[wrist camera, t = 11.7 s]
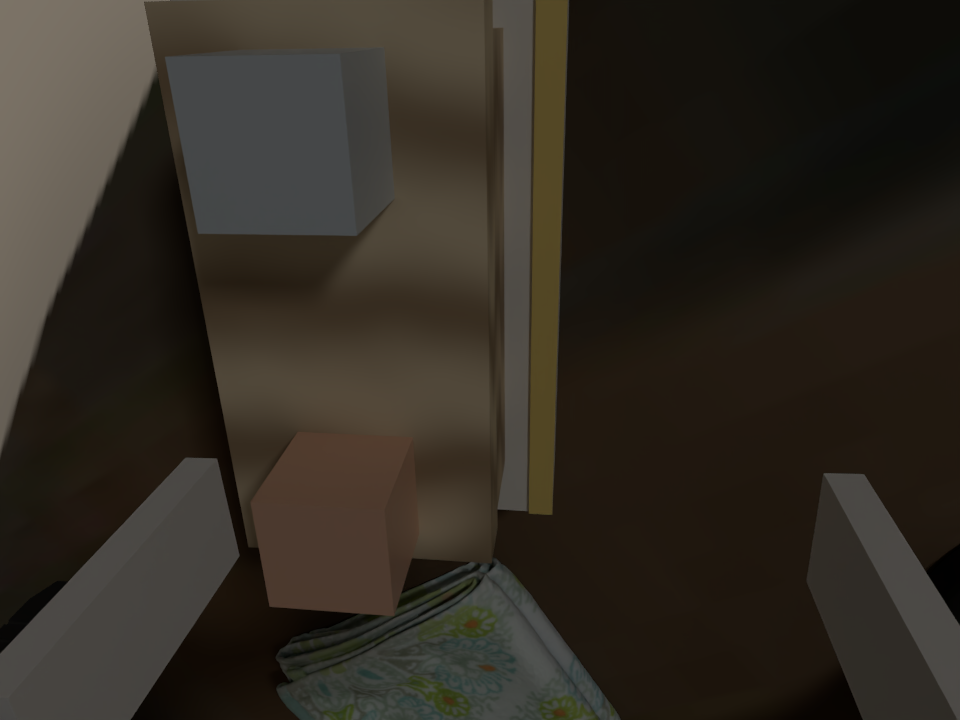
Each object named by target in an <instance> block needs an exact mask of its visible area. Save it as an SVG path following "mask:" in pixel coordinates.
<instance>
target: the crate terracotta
mask: <svg viewBox="0 0 960 720" xmlns="http://www.w3.org/2000/svg"><path fill="white" fill-rule="evenodd" d="M250 503H251V508H252V514H253V519H254V525H255V530H256V535H257V541H258V546H259V552H260V557H261V562H262V568H263V573H264V579H265V584H266V589H267V595H268V600H269V606H270V607H281V608H294V609H307V610H320V611H333V612H346V613H359V614H372V615H385V616H394V615H395V612H396V609H397V605H398V602H399V599H400V595H401V592H402V589H403V586H404V582H405V579H406V576H407V573H408V569H409V566H410V563H411V559H412V556H413V553H414V550H415V546H416V543H417V540H418V536H419V520H418V505H417V490H416V475H415V460H414V445H413V437H397V436H376V435H355V434H334V433H313V432H297V434H296V435H295V437H294V438H293V439H292V441H291V442H290V444H289V445H288V447H287V448H286V450H285V451H284V453H283V454H282V456H281V457H280V459H279V460H278V462H277V463H276V465H275V466H274V468H273V469H272V471H271V472H270V474H269V475H268V477H267V478H266V480H265V481H264V482H263V484H262V485H261V487H260V488H259V490H258V491H257V493H256V494H255V496H254V497H253V499H252V500H251V502H250Z"/></svg>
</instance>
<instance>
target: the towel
mask: <svg viewBox="0 0 960 720" xmlns="http://www.w3.org/2000/svg"><path fill="white" fill-rule="evenodd" d="M276 660H277V661H278V662H279V663H280V666H281V668H282V670H283V672H284V673H285V675H286V676H287V678H288V680H289V682H290V683H287V682H283V683H281V684H279V685H278V686H277V688H276V690H277V692H278V695H279V697H280V698H281V700H282V701H283V702H284V703H285V705H286V706H287V707H288V708H289V709H290V710H291V711H292V712H293V713H294V714H295V715H296V716H297V717H298V718H299V719H300V720H620V717H619V715H618V714H617V712H616V711H615V709H614V708H613V706H612V705H611V704H610V702H609V701H608V700H607V699H606V697H605V696H604V695H603V693H602V692H601V690H600V688H599V687H598V686H597V684H596V683H595V682H594V681H593V679H592V678H591V676H590V675H589V673H588V672H587V671H586V669H585V668H584V667H583V666H582V664H581V663H580V661H579V660H578V658H577V657H576V656H575V654H574V653H573V652H572V650H571V649H570V648H569V647H568V645H567V644H566V643H565V641H564V640H563V639H562V637H561V636H560V634H559V633H558V632H557V630H556V629H555V628H554V626H553V625H552V624H551V622H550V621H549V620H548V618H547V617H546V616H545V614H544V613H543V611H542V610H541V609H540V608H539V606H538V604H537V603H536V601H535V600H534V599H533V597H532V596H531V594H530V593H529V592H528V591H527V590H526V589H525V588H524V586H523V585H522V584H521V582H520V581H519V580H518V579H517V578H516V576H515V575H514V574H513V573H512V572H511V571H510V570H509V569H508V568H507V567H506V566H505V565H502V564H501V563H500V562H499V561H498V560H497V559H496V558H493V559H492V563H477V562H470V563H468V564H466V565H463V566H460V567H458V568H457V569H455V570H453V571H450V572H448V573H446V574H444V575H442V576H440V577H438V578H436V579H433V580H431V581H429V582H426V583H424V584H422V585H419V586H417V587H415V588H412V589H410V590H408V591H405V592H403V593H401V595H400V599H399V602H398V605H397V609H396V612H395V615H394V616H385V615H372V614H358V615H356V616H354V617H352V618H349V619H347V620H345V621H343V622H341V623H338V624H336V625H334V626H332V627H330V628H327V629H326V628H323V629H317V630H314V631H311V632H310V633H309V634H308V633H304V634H301V635H300V636H296V637H293V638H292V639H291V640H290V642H289V643H288V644H287V645H286V646H285V647H283V648H281V649H280V650H279V652H278V654H277V655H276Z"/></svg>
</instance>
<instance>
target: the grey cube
mask: <svg viewBox="0 0 960 720" xmlns="http://www.w3.org/2000/svg"><path fill="white" fill-rule="evenodd" d="M165 61H166V66H167V71H168V77H169V82H170V87H171V93H172V98H173V103H174V109H175V114H176V119H177V124H178V130H179V135H180V140H181V146H182V151H183V156H184V162H185V167H186V172H187V178H188V183H189V188H190V194H191V199H192V204H193V210H194V215H195V220H196V226H197V231H198V234H261V235H337V236H357V235H358V234H359V233H360V232H361V231H362V230H363V229H364V228H365V227H366V226H367V225H368V224H369V223H370V222H371V221H372V220H373V219H374V218H375V217H376V216H377V215H378V214H379V213H380V212H381V211H383V210H384V209H385V208H386V207H387V206H388V205H389V204H390V203H391V202H392V201H393V200H394V199H395V195H394V181H393V167H392V152H391V138H390V123H389V109H388V95H387V80H386V66H385V51H384V47H371V48H315V49H258V50H233V51H222V52H211V53H200V54H190V55H179V56H168V57H165Z"/></svg>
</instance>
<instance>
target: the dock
mask: <svg viewBox="0 0 960 720" xmlns="http://www.w3.org/2000/svg"><path fill="white" fill-rule="evenodd" d="M170 1H201V0H170ZM568 19H569V0H493V28H503V45H504V323H505V465H504V471H503V477H502V483H501V489H500V496H499V502H498V508H497V509H502V510H518V511H529V514H546V515H552V505H553V485H554V464H555V435H556V403H557V371H558V339H559V307H560V275H561V243H562V211H563V179H564V147H565V115H566V83H567V51H568Z"/></svg>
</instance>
